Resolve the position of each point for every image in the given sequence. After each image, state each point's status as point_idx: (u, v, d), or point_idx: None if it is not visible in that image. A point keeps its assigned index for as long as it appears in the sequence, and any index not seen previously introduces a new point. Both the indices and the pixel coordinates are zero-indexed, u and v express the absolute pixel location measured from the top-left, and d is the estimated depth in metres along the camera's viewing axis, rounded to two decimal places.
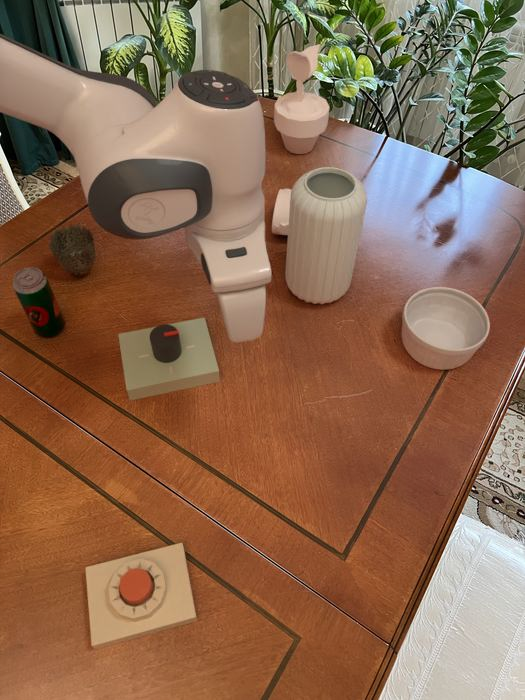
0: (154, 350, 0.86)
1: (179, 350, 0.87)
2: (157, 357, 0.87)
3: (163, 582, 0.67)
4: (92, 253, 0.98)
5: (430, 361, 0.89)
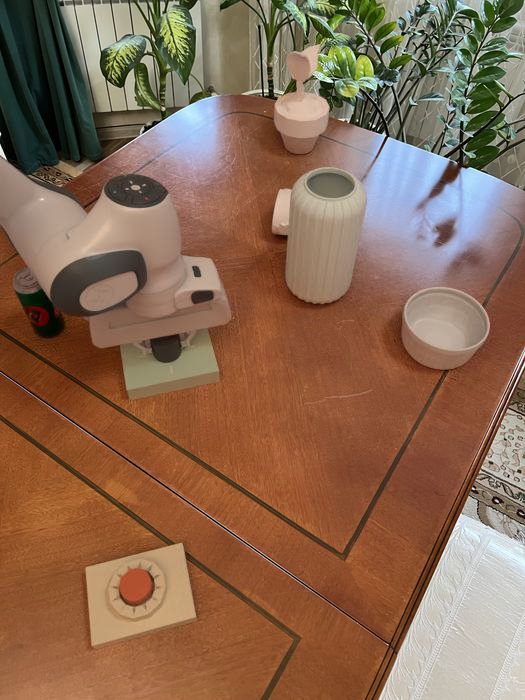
0: (154, 350, 0.86)
1: (179, 350, 0.87)
2: (157, 357, 0.87)
3: (163, 582, 0.67)
4: None
5: (430, 361, 0.89)
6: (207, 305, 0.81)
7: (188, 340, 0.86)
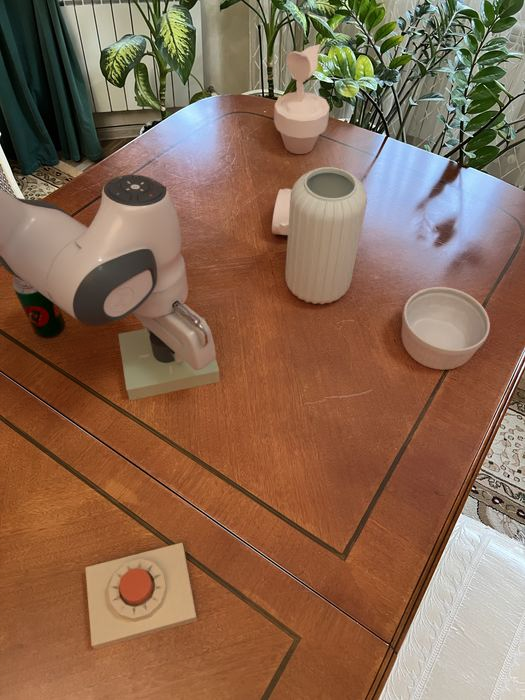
0: None
1: None
2: None
3: (163, 582, 0.67)
4: None
5: (430, 361, 0.89)
6: None
7: None
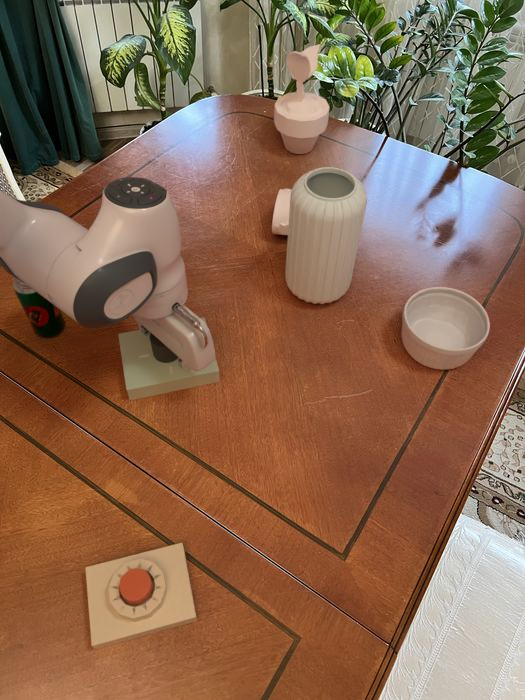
0: None
1: None
2: None
3: (163, 582, 0.67)
4: None
5: (430, 361, 0.89)
6: None
7: None
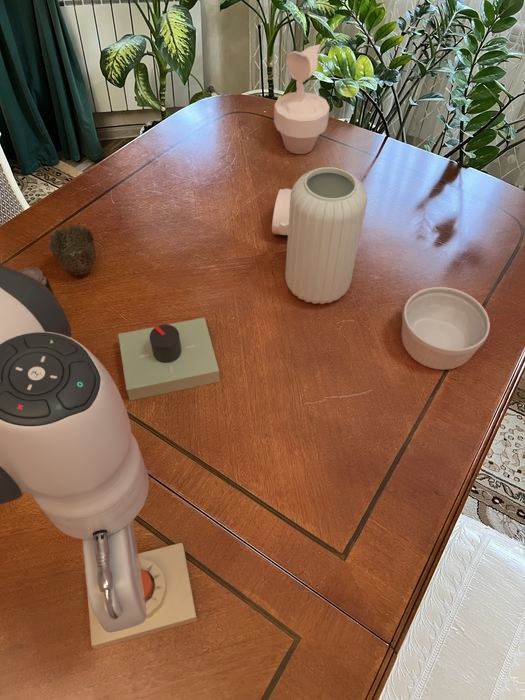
0: (179, 345, 0.87)
1: None
2: (180, 349, 0.88)
3: (163, 582, 0.67)
4: (92, 253, 0.98)
5: (430, 361, 0.89)
6: None
7: None
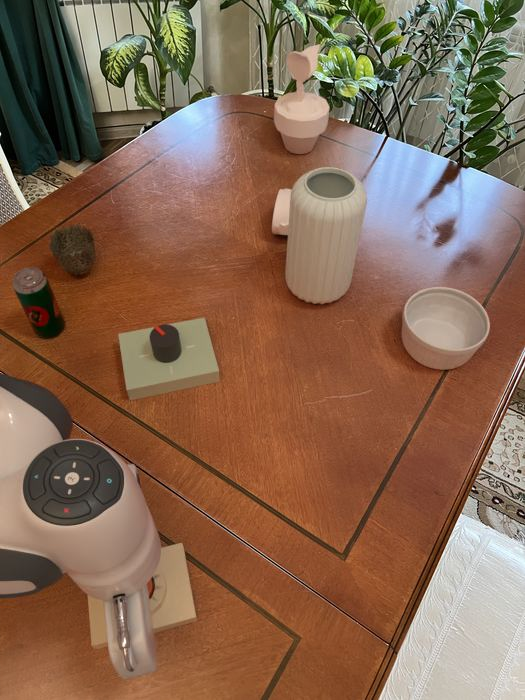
0: (179, 345, 0.87)
1: None
2: (180, 349, 0.88)
3: (163, 582, 0.67)
4: (92, 253, 0.98)
5: (430, 361, 0.89)
6: None
7: None
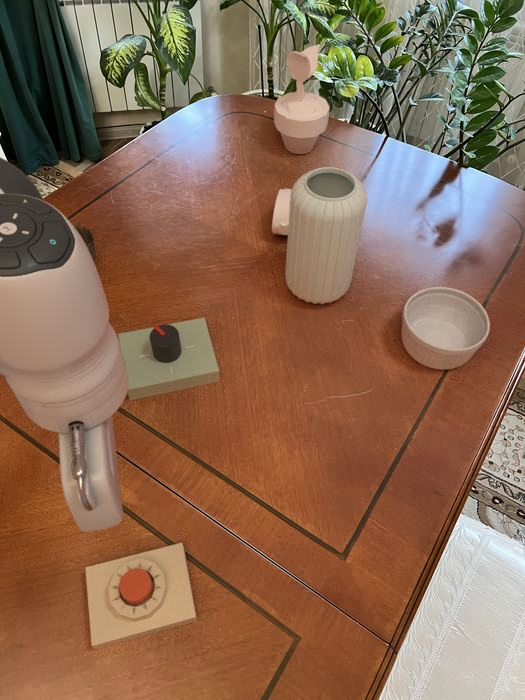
0: (179, 345, 0.87)
1: None
2: (180, 349, 0.88)
3: (163, 582, 0.67)
4: (92, 253, 0.98)
5: (430, 361, 0.89)
6: None
7: None
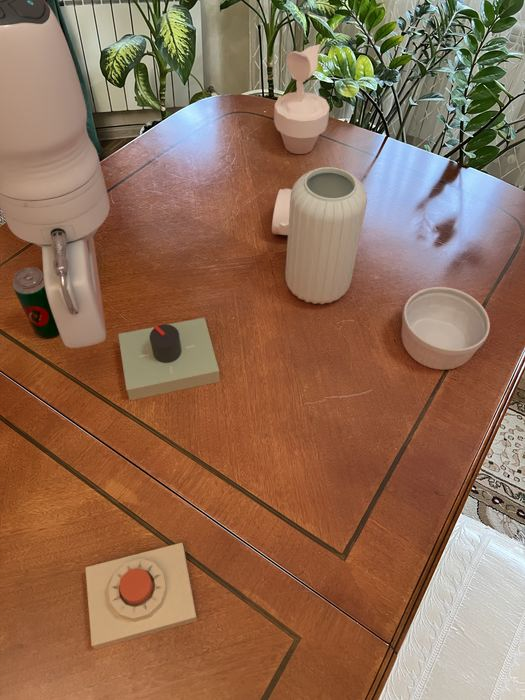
0: (179, 345, 0.87)
1: None
2: (180, 349, 0.88)
3: (163, 582, 0.67)
4: None
5: (430, 361, 0.89)
6: None
7: None
